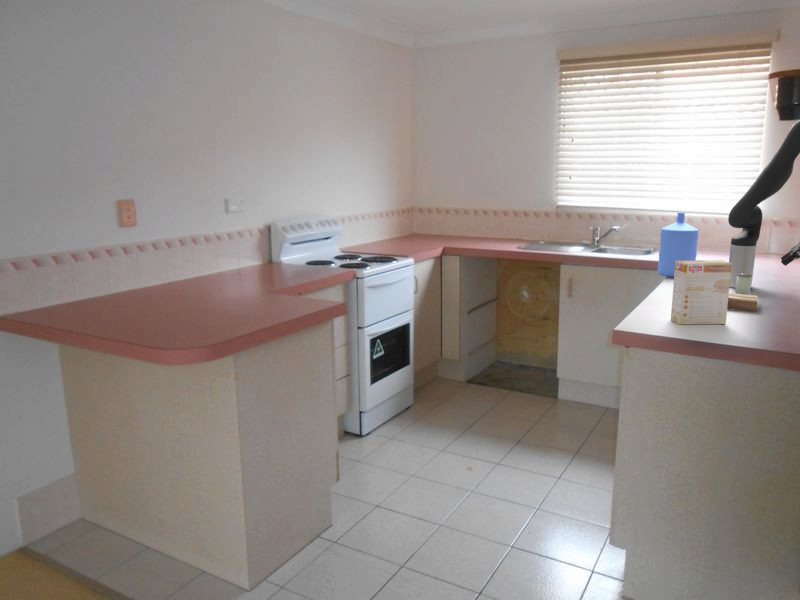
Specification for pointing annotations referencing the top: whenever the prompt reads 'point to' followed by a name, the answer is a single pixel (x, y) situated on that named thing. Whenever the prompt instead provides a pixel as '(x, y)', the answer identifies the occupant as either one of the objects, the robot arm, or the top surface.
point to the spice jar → (743, 283)
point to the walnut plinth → (742, 302)
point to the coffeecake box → (701, 291)
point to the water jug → (676, 245)
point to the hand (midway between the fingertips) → (782, 262)
